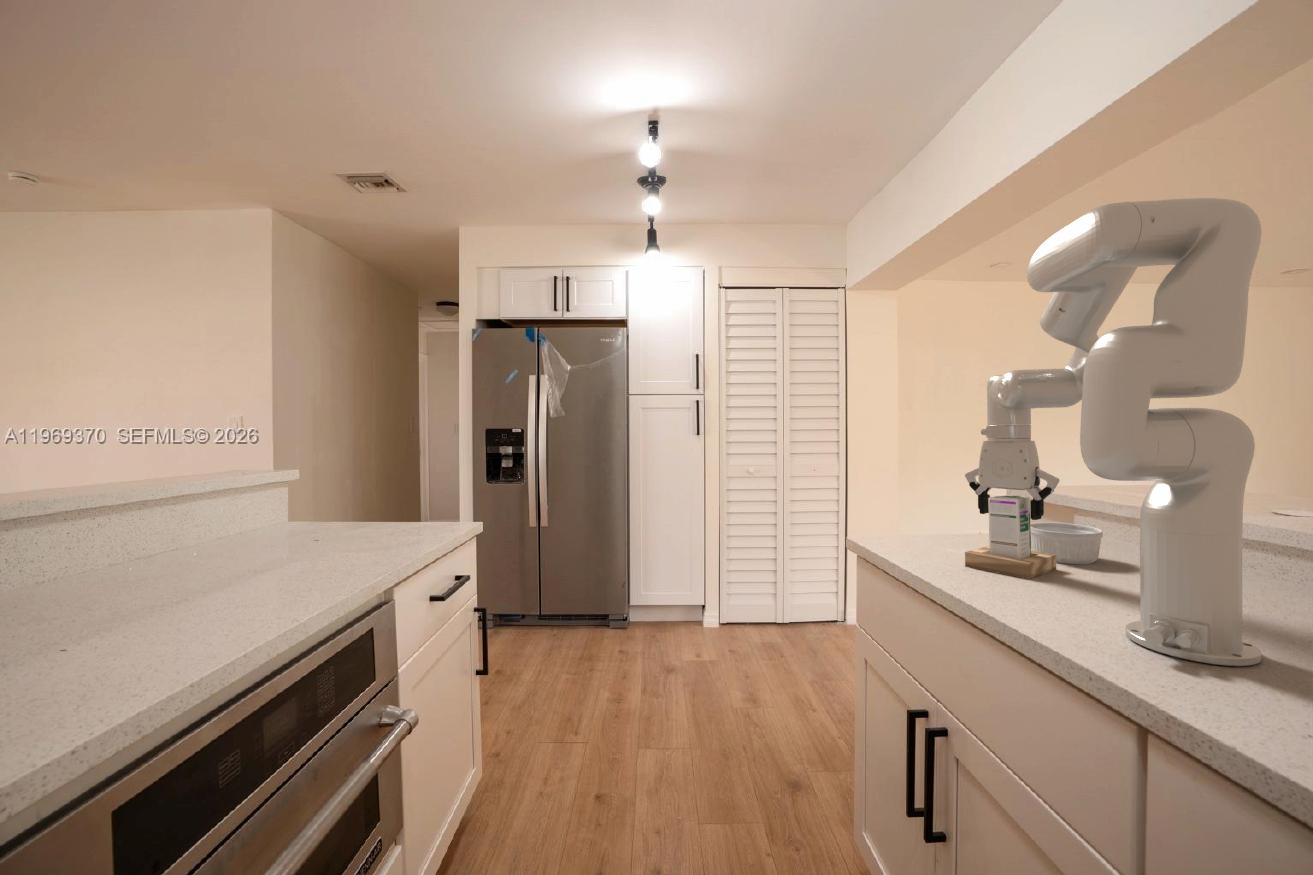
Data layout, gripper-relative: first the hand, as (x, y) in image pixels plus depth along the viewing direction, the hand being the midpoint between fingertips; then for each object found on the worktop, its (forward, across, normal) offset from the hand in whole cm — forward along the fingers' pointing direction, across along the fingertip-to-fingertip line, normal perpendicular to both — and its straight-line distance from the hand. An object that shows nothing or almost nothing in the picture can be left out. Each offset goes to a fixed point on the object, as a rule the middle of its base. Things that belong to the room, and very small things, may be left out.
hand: (1009, 516), depth 109 cm
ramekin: (+11, +3, +18) cm, 21 cm away
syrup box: (+10, 0, 0) cm, 11 cm away
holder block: (+11, 0, 0) cm, 11 cm away
